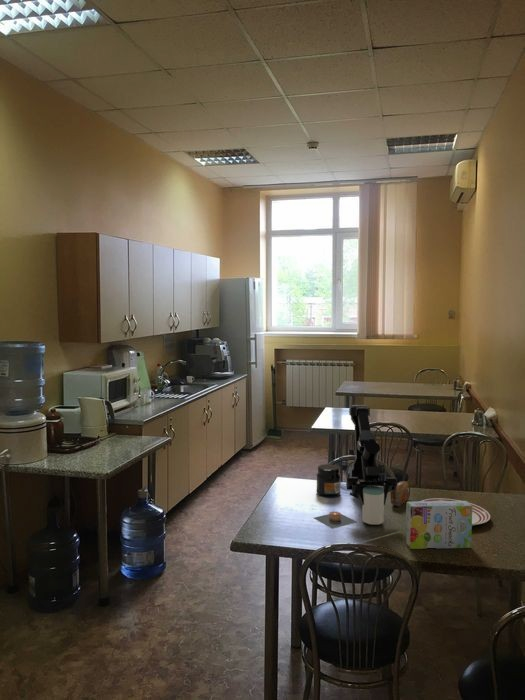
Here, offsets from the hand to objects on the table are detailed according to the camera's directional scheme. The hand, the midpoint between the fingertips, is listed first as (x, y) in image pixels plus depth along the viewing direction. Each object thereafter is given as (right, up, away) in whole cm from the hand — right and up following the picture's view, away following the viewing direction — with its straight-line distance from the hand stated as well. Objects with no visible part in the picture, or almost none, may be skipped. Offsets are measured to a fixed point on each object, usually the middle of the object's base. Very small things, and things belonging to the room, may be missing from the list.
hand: (373, 504), depth 209 cm
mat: (-14, -8, +5) cm, 17 cm away
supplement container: (-13, -6, +36) cm, 39 cm away
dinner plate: (+33, -8, +10) cm, 35 cm away
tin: (+16, -7, +26) cm, 31 cm away
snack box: (+19, -10, -16) cm, 27 cm away
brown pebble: (-14, -7, +5) cm, 16 cm away
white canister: (0, -6, +2) cm, 7 cm away
